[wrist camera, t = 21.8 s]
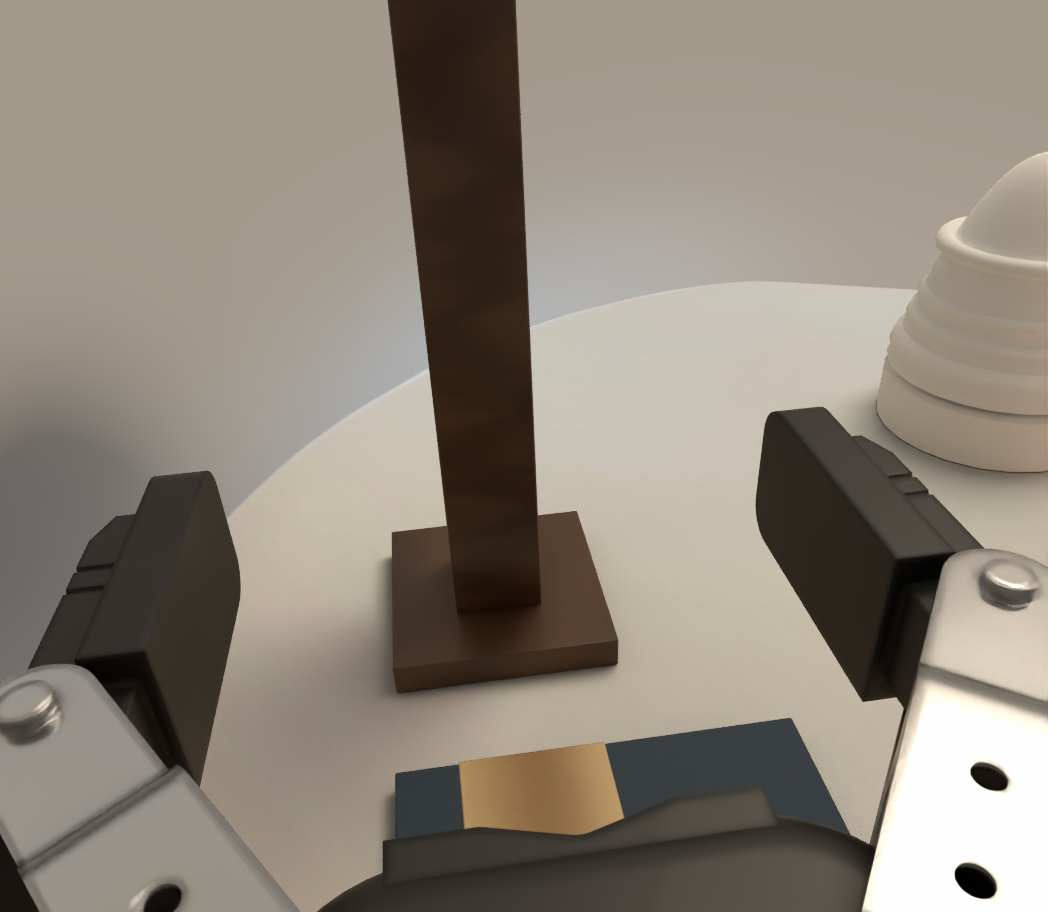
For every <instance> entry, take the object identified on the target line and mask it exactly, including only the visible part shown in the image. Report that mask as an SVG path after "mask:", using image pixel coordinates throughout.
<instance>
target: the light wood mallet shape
mask: <svg viewBox="0 0 1048 912" xmlns="http://www.w3.org/2000/svg"><path fill="white" fill-rule="evenodd" d="M459 774H460V786H461V798H462V810H463V822H464V829H467V828H473V827H489V828H500V829H512V830H523V831H534V832H546V833H557V834H569V835H579V834H585V833H588V832H592V831H594V830H596V829H599V828H601V827H604V826H606V825H608V824H611V823H613V822H616V821H618V820H620V819H623V818H624V815H623V811H622V807H621V803H620V800H619V796H618V792H617V788H616V784H615V781H614V777H613V773H612V769H611V765H610V762H609V758H608V754H607V750H606V746H605V744H604V743H603V742H601V743H594V744H587V745H580V746H573V747H565V748H558V749H551V750H544V751H537V752H529V753H522V754H515V755H508V756H501V757H493V758H486V759H479V760H472V761H465V762H460V763H459Z"/></svg>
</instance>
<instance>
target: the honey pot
mask: <svg viewBox="0 0 1048 912" xmlns="http://www.w3.org/2000/svg"><path fill="white" fill-rule="evenodd" d="M935 240H936V245H937V248H938V249H939V250H940V251H941V252H942V254H941V255H940V257H939V258H938V260H937V262H936V263H935V265H934V267H933V268H932V270H931V271H930V272H929V273H927V274H926V275H925V276H924V277H923V278H922V280H921V281H920V283H919V285H918V293H916V294H915V295H914V296H913V298H912V299H911V301H910V302H909V304H908V306H907V308H906V313H905V314H904V315H903V316H901V317H900V318H899V320H898V321H897V323H896V324H895V326H894V327H893V330H892V332H891V334H890V345H889V346H888V348H887V356H886V358H885V362H884V367H883V372H882V378H881V383H880V388H879V393H878V398H877V413H878V415H879V417H880V418H881V420H882V422H883V423H884V425H885V426H886V427H887V428H888V429H889V430H891V431H892V432H893V433H894V434H895V435H896V436H897V437H899V438H900V439H901V440H903V441H905V442H907V443H909V444H910V445H912V446H914V447H916V448H918V449H919V450H921V451H924V452H926V453H929V454H932V455H934V456H937V457H939V458H942V459H945V460H947V461H951V462H955V463H959V464H963V465H967V466H971V467H976V468H981V469H989V470H997V471H1005V472H1042V471H1048V152H1043V153H1039V154H1036V155H1034V156H1032V157H1030V158H1027V159H1026V160H1024V161H1022V162H1021V163H1019V164H1018V165H1016V166H1015V167H1014V168H1012V169H1011V170H1010V171H1008V172H1007V173H1006V174H1005V175H1004V176H1003V177H1002V178H1001V179H1000V180H998V181H997V183H996V184H995V185H994V186H993V187H992V188H991V189H990V190H989V191H988V192H987V193H986V194H985V195H984V197H983V198H982V199H981V200H980V201H979V202H978V204H977V205H976V206H975V207H974V209H973V210H972V211H971V212H970V214H969V215H968V216H965V217H961V218H957V219H954V220H952V221H950V222H948V223H946V224H944V225H943V226H942V227H941V228H940V229H939V231H938V232H937V234H936V236H935Z"/></svg>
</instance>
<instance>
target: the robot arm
mask: <svg viewBox="0 0 1048 912" xmlns="http://www.w3.org/2000/svg"><path fill="white" fill-rule="evenodd" d="M756 516H757V522H758V526H759V530H760V533H761V535H762V538H763V540H764V542H765V543H766V545H767V546H768V548H769V550H770V551H771V553H772V555H773V556H774V558H775V560H776V561H777V563H778V564H779V566H780V568H781V569H782V571H783V573H784V574H785V576H786V577H787V579H788V581H789V582H790V584H791V586H792V587H793V589H794V591H795V592H796V594H797V595H798V597H799V599H800V600H801V602H802V604H803V605H804V607H805V608H806V610H807V612H808V613H809V615H810V617H811V618H812V620H813V622H814V623H815V625H816V626H817V628H818V630H819V631H820V633H821V635H822V636H823V638H824V639H825V641H826V643H827V644H828V646H829V648H830V649H831V651H832V653H833V654H834V656H835V657H836V659H837V661H838V662H839V664H840V666H841V667H842V669H843V670H844V672H845V674H846V675H847V677H848V679H849V680H850V682H851V683H852V685H853V687H854V688H855V690H856V692H857V693H858V695H859V697H860V698H861V700H862V701H863V702H865V701H873V700H880V699H887V698H894V697H897V699H898V700H899V702H900V703H901V705H902V706H903V708H904V709H903V713H902V717H901V720H900V724H899V728H898V732H897V736H896V740H895V744H894V748H893V752H892V756H891V760H890V764H889V768H888V772H887V776H886V780H885V784H884V788H883V792H882V796H881V800H880V804H879V808H878V812H877V816H876V821H875V825H874V829H873V833H872V836H871V840H870V844H867V843H866V842H864V841H862V840H860V839H858V838H856V837H854V836H852V835H849V834H847V833H844V832H842V831H840V830H837V829H835V828H832V827H829V826H826V825H823V824H820V823H816V822H813V821H810V820H805V819H800V818H795V817H790V816H784V815H775V812H774V810H773V808H772V806H771V803H770V801H769V799H768V796H767V794H766V792H765V790H764V787H763V785H757V786H750V787H743V788H737V789H730V790H723V791H716V792H710V793H703V794H696V795H689V796H683V797H676V798H671V799H669V800H666V801H664V802H661V803H659V804H657V805H654V806H652V807H649V808H647V809H645V810H642V811H640V812H637V813H635V814H632V815H630V816H628V817H625V818H623V819H620V820H618V821H616V822H613V823H611V824H608V825H606V826H604V827H601V828H599V829H596V830H594V831H592V832H588V833H585V834H579V835H569V834H557V833H546V832H534V831H523V830H512V829H500V828H489V827H473V828H467V829H460V830H453V831H446V832H440V833H433V834H426V835H419V836H413V837H406V838H399V839H392V840H386V841H383V873H381V874H379V875H376V876H374V877H372V878H369V879H367V880H365V881H363V882H361V883H359V884H358V885H356V886H354V887H352V888H350V889H348V890H347V891H345V892H343V893H342V894H340V895H339V896H338V897H336V898H335V899H333V900H332V901H330V902H329V903H328V904H326V905H325V906H323V907H322V908H321V909H320V910H319V911H317V912H1048V567H1046V566H1045V565H1043V564H1041V563H1039V562H1037V561H1035V560H1033V559H1030V558H1028V557H1025V556H1023V555H1019V554H1016V553H1012V552H1008V551H1003V550H996V549H984V548H983V547H982V546H981V544H980V543H979V542H978V541H977V540H976V539H975V538H974V537H973V536H972V535H971V534H970V533H969V532H968V531H967V530H966V529H965V528H964V527H963V526H962V525H961V524H960V523H959V522H958V520H957V519H956V518H955V517H954V516H953V515H952V514H951V513H950V512H949V511H948V510H947V509H946V508H945V507H944V506H943V505H942V504H941V503H940V502H939V501H938V500H937V499H936V498H935V496H934V495H929V493H928V489H927V488H926V487H925V486H924V485H923V484H922V483H921V482H920V481H919V480H918V479H917V478H916V477H912V472H911V471H910V470H909V469H908V468H907V467H906V466H905V465H904V464H903V463H902V462H901V461H900V460H899V459H898V458H897V457H896V456H895V455H894V454H893V453H892V452H891V451H889V450H887V449H885V448H883V447H882V446H880V445H878V444H876V443H874V442H872V441H871V440H869V439H867V438H865V437H863V436H861V435H860V436H851V435H850V434H849V433H848V432H847V431H846V430H845V429H844V428H843V427H842V425H841V424H840V423H839V422H838V421H837V420H836V419H835V418H834V417H833V416H832V414H831V413H830V412H829V411H828V410H827V409H826V408H824V407H813V408H803V409H794V410H785V411H775V412H771V413H770V414H769V416H768V417H767V420H766V423H765V428H764V436H763V444H762V452H761V460H760V469H759V477H758V485H757V493H756ZM239 601H240V571H239V564H238V559H237V555H236V552H235V548H234V545H233V541H232V537H231V534H230V530H229V527H228V523H227V520H226V517H225V512H224V509H223V505H222V502H221V498H220V495H219V491H218V487H217V484H216V481H215V479H214V477H213V475H212V474H211V472H209V471H201V472H191V473H182V474H173V475H163V476H154V477H152V478H151V479H150V481H149V483H148V486H147V488H146V490H145V493H144V495H143V497H142V500H141V502H140V504H139V507H138V509H137V512H136V514H132V515H123V516H116V517H115V518H114V519H113V520H111V521H110V522H109V523H108V524H107V525H106V526H105V527H104V528H103V529H102V530H101V531H100V532H98V534H96V535H95V536H94V537H93V538H92V539H91V540H90V541H89V542H88V545H87V547H86V549H85V551H84V553H83V555H82V557H81V559H80V561H79V563H78V565H77V573H74V574H73V576H72V578H71V580H70V582H69V584H68V586H67V588H66V595H63V597H62V599H61V601H60V603H59V605H58V607H57V609H56V611H55V613H54V615H53V617H52V619H51V621H50V624H49V626H48V628H47V630H46V632H45V634H44V636H43V638H42V640H41V642H40V645H39V646H38V649H37V651H36V653H35V655H34V657H33V659H32V661H31V663H30V665H29V667H28V669H27V670H25V671H23V672H20V673H17V674H15V675H13V676H11V677H9V678H7V679H5V680H3V681H1V682H0V912H300V911H299V909H298V908H297V907H296V906H295V905H294V903H293V902H292V901H291V900H290V898H289V897H288V896H287V895H286V893H285V892H284V891H283V890H282V889H281V887H280V886H279V885H278V884H277V882H276V881H275V880H274V879H273V877H272V876H271V875H270V874H269V872H268V871H267V870H266V869H265V868H264V866H263V865H262V864H261V863H260V861H259V860H258V859H257V858H256V856H255V855H254V854H253V853H252V852H251V850H250V849H249V848H248V847H247V845H246V844H245V843H244V842H243V840H242V839H241V838H240V837H239V835H238V834H237V833H236V832H235V831H234V829H233V828H232V827H231V826H230V824H229V823H228V822H227V821H226V819H225V818H224V817H223V816H222V815H221V813H220V812H219V811H218V810H217V808H216V807H215V806H214V805H213V803H212V802H211V801H210V800H209V799H208V797H207V796H206V795H205V794H204V792H203V791H202V790H201V789H200V783H201V778H202V774H203V769H204V764H205V760H206V755H207V750H208V746H209V741H210V736H211V732H212V727H213V723H214V718H215V713H216V709H217V704H218V699H219V695H220V690H221V685H222V681H223V676H224V672H225V667H226V662H227V658H228V653H229V648H230V644H231V639H232V634H233V630H234V625H235V620H236V616H237V611H238V607H239Z"/></svg>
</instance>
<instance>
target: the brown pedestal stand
mask: <svg viewBox="0 0 1048 912" xmlns="http://www.w3.org/2000/svg"><path fill="white" fill-rule="evenodd" d="M388 8H389V16H390V26H391V35H392V43H393V52H394V61H395V70H396V78H397V87H398V96H399V105H400V114H401V123H402V132H403V141H404V150H405V159H406V167H407V176H408V185H409V194H410V203H411V212H412V220H413V229H414V238H415V247H416V256H417V264H418V273H419V282H420V291H421V300H422V309H423V317H424V327H425V336H426V344H427V353H428V361H429V371H430V380H431V389H432V398H433V406H434V415H435V424H436V433H437V442H438V451H439V459H440V468H441V477H442V486H443V495H444V504H445V513H446V521H447V526H442V527H433V528H425V529H416V530H407V531H399V532H392V617H393V673H394V678H395V684H396V690H397V693H400V692H408V691H415V690H423V689H431V688H438V687H446V686H453V685H461V684H468V683H476V682H484V681H491V680H499V679H506V678H514V677H521V676H529V675H537V674H544V673H552V672H559V671H567V670H574V669H582V668H590V667H597V666H605V665H612V664H617V663H618V638H617V635H616V632H615V628H614V625H613V622H612V619H611V616H610V613H609V610H608V607H607V604H606V600H605V597H604V594H603V591H602V588H601V585H600V582H599V579H598V576H597V572H596V569H595V566H594V563H593V560H592V557H591V554H590V551H589V548H588V544H587V541H586V538H585V535H584V532H583V529H582V526H581V523H580V520H579V517H578V513H577V511H572V512H564V513H555V514H546V515H538V510H537V486H536V463H535V440H534V416H533V393H532V370H531V347H530V325H529V301H528V278H527V253H526V231H525V207H524V185H523V161H522V137H521V116H520V115H521V113H520V91H519V68H518V45H517V44H518V43H517V22H516V21H517V20H516V0H388Z"/></svg>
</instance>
